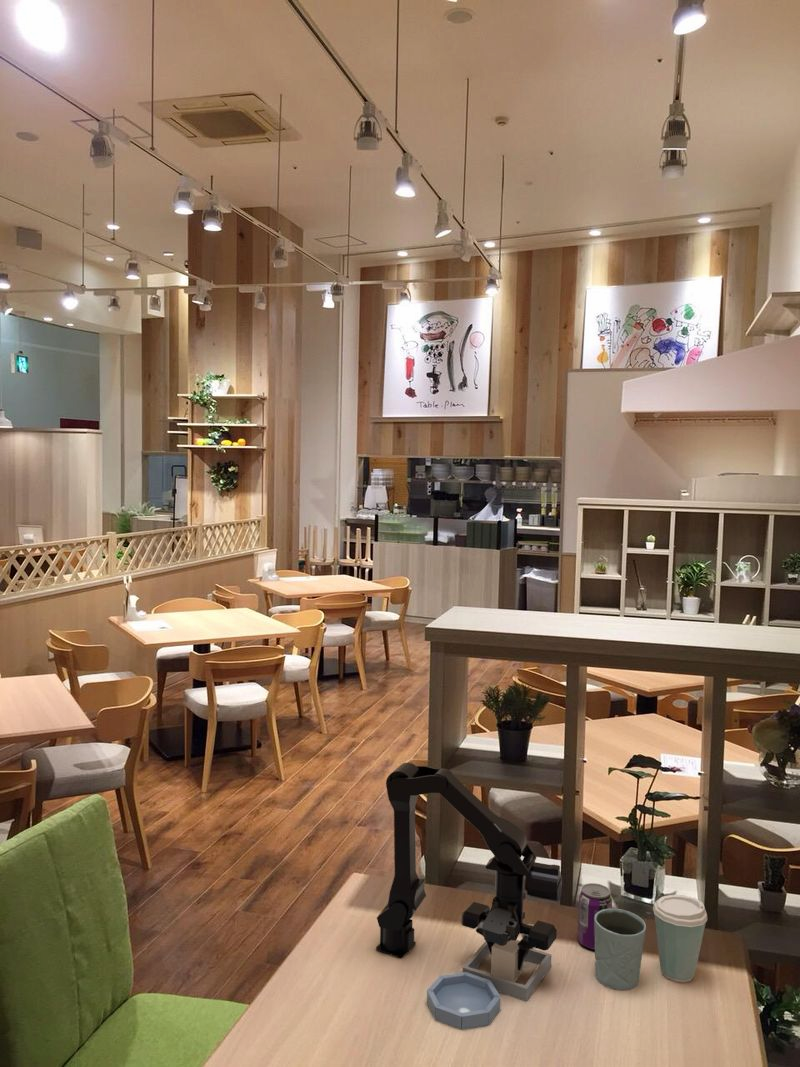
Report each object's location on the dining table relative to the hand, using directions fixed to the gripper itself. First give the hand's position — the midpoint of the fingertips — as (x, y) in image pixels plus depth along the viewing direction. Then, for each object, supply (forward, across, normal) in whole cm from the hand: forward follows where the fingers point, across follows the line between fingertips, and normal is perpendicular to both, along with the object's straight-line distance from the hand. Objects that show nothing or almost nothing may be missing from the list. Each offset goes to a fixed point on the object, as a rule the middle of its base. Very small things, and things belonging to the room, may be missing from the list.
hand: (507, 965), depth 172 cm
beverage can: (+2, +12, +20) cm, 23 cm away
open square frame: (+2, 0, 0) cm, 2 cm away
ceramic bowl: (+2, -3, -14) cm, 15 cm away
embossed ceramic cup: (+2, +20, +10) cm, 22 cm away
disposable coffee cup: (+2, +30, +18) cm, 35 cm away
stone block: (+2, 0, 0) cm, 2 cm away
